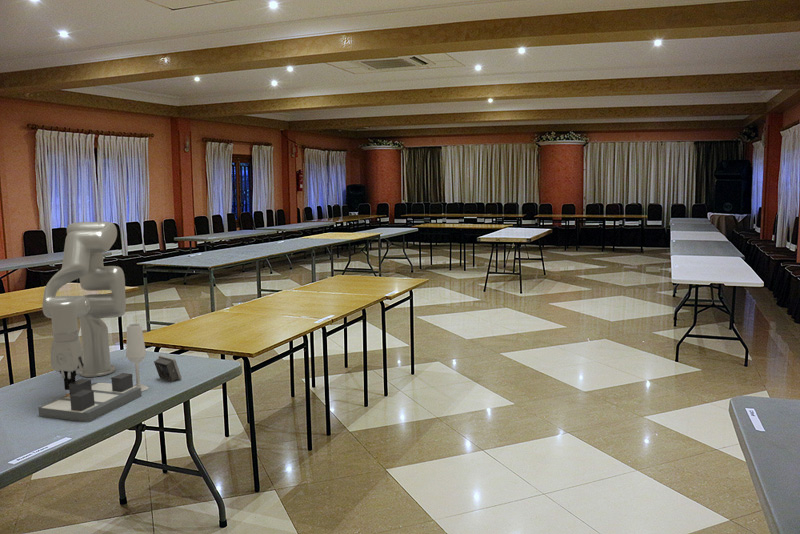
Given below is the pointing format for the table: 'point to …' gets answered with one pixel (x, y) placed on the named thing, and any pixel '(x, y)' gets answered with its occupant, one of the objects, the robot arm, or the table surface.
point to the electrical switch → (167, 368)
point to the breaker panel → (94, 410)
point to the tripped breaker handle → (80, 386)
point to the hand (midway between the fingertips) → (70, 388)
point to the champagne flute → (136, 349)
